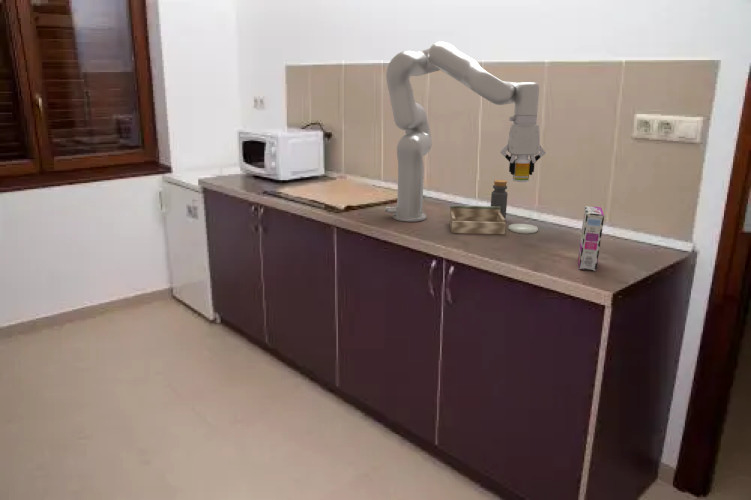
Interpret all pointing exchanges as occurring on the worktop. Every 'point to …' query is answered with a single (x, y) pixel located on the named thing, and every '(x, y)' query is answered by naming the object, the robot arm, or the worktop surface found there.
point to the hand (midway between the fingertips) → (521, 173)
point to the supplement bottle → (521, 168)
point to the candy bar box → (590, 238)
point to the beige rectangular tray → (476, 220)
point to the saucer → (523, 228)
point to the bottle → (499, 196)
